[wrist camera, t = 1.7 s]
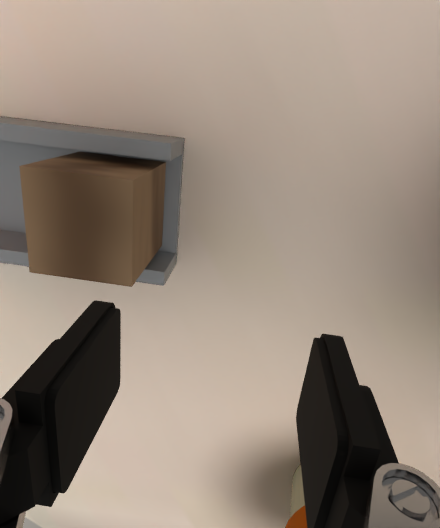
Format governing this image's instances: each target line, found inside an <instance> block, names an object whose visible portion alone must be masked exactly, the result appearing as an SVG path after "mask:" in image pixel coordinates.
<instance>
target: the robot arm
mask: <svg viewBox="0 0 440 528" xmlns="http://www.w3.org/2000/svg"><path fill="white" fill-rule="evenodd" d="M119 386H120V309H117V308H115V305H114V303H109V302H102V301H93V302H92V303H91V304H90V306H89V307H88V308H87V309H86V310H85V311H84V312H83V313H82V315H81V316H80V317H79V318H78V319H77V320H76V321H75V323H74V324H73V325H72V326H71V327H70V328H69V329H68V330H67V332H66V333H65V334H64V335H63V336H62V337H61V338H60V339H57V340H55V341H53V342H52V343H51V344H50V345H49V346H48V348H47V349H46V350H45V351H44V352H43V353H42V354H41V355H40V356H39V358H38V359H37V360H36V361H35V362H34V363H33V364H32V365H31V366H30V368H29V369H28V370H27V371H26V372H25V373H24V374H23V375H22V376H21V377H20V379H19V380H18V381H17V382H16V383H15V384H14V385H13V386H12V387H11V389H10V390H9V391H8V392H7V393H6V394H5V395H4V396H3V397H2V399H1V398H0V528H23V523H24V519H25V514H26V511H27V510H29V509H31V508H33V507H35V505H36V504H37V505H43V506H49V507H51V506H52V505H53V503H54V501H55V499H56V497H57V495H58V493H65V492H66V491H67V489H68V487H69V485H70V483H71V482H72V480H73V478H74V476H75V474H76V472H77V470H78V468H79V466H80V464H81V462H82V460H83V458H84V456H85V454H86V452H87V451H88V449H89V447H90V445H91V443H92V441H93V439H94V437H95V435H96V433H97V431H98V429H99V427H100V425H101V423H102V421H103V420H104V418H105V416H106V414H107V412H108V410H109V408H110V406H111V404H112V402H113V400H114V398H115V396H116V394H117V392H118V389H119ZM296 422H297V432H298V442H299V452H300V462H301V471H302V481H303V491H304V501H305V511H306V521H307V528H440V488H439V486H438V485H437V484H436V483H435V482H434V481H433V480H432V479H430V478H429V477H428V476H426V475H425V474H424V473H422V472H420V471H419V470H417V469H415V468H413V467H410V466H407V465H404V464H399V463H398V460H397V457H396V455H395V452H394V449H393V447H392V444H391V441H390V439H389V436H388V433H387V431H386V428H385V425H384V423H383V420H382V417H381V415H380V412H379V410H378V407H377V404H376V402H375V399H374V396H373V394H372V391H371V389H370V388H369V387H368V386H362V385H359V383H358V380H357V377H356V374H355V371H354V368H353V365H352V363H351V360H350V357H349V354H348V351H347V348H346V345H345V342H344V339H343V337H341V336H335V335H328V334H322V335H321V337H320V338H314V340H313V344H312V348H311V352H310V357H309V361H308V365H307V369H306V374H305V378H304V382H303V386H302V391H301V395H300V399H299V404H298V408H297V416H296Z"/></svg>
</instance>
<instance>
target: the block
mask: <svg viewBox="0 0 440 528" xmlns="http://www.w3.org/2000/svg"><path fill="white" fill-rule="evenodd" d="M19 168H20V178H21V189H22V199H23V209H24V219H25V229H26V240H27V250H28V260H29V270H30V272H32V273H39V274H46V275H53V276H60V277H67V278H74V279H81V280H88V281H95V282H102V283H109V284H116V285H123V286H130V287H132V286H133V284H134V283H135V281H136V280H137V279H138V277H139V276H140V275H141V273H142V272H143V271H144V269H145V268H146V267H147V265H148V264H149V263H150V261H151V260H152V258H153V257H154V256H155V254H156V253H157V252H158V250H159V249H160V248H161V246H162V236H163V215H164V193H165V172H166V162H161V161H153V160H145V159H136V158H128V157H120V156H112V155H104V154H96V153H87V152H76V153H72V154H67V155H63V156H59V157H55V158H51V159H46V160H42V161H38V162H34V163H30V164H26V165H21V166H19Z"/></svg>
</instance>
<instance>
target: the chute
mask: <svg viewBox="0 0 440 528" xmlns="http://www.w3.org/2000/svg"><path fill="white" fill-rule="evenodd" d="M76 152H87V153H96V154H104V155H112V156H120V157H128V158H136V159H145V160H153V161H161V162H166V172H165V193H164V215H163V236H162V246H161V248H160V249H159V250H158V252H157V253H156V254H155V256H154V257H153V258H152V260H151V261H150V263H149V264H148V265H147V267H146V268H145V269H144V271H143V272H142V273H141V275H140V276H139V277H138V279H137V280H136V281H135V282H142V283H149V284H156V285H163V286H164V285H165V283H166V281H167V279H168V277H169V276H170V274H171V272H172V270H173V269H174V267H175V265H176V262H177V247H178V231H179V216H180V200H181V185H182V169H183V153H184V138H179V137H170V136H162V135H154V134H145V133H137V132H128V131H120V130H111V129H103V128H95V127H86V126H78V125H69V124H61V123H52V122H44V121H35V120H27V119H19V118H10V117H2V116H0V263H7V264H15V265H22V266H29V260H28V250H27V240H26V229H25V219H24V209H23V199H22V189H21V178H20V168H19V166H21V165H26V164H30V163H34V162H38V161H42V160H46V159H51V158H55V157H59V156H63V155H67V154H72V153H76Z"/></svg>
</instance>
